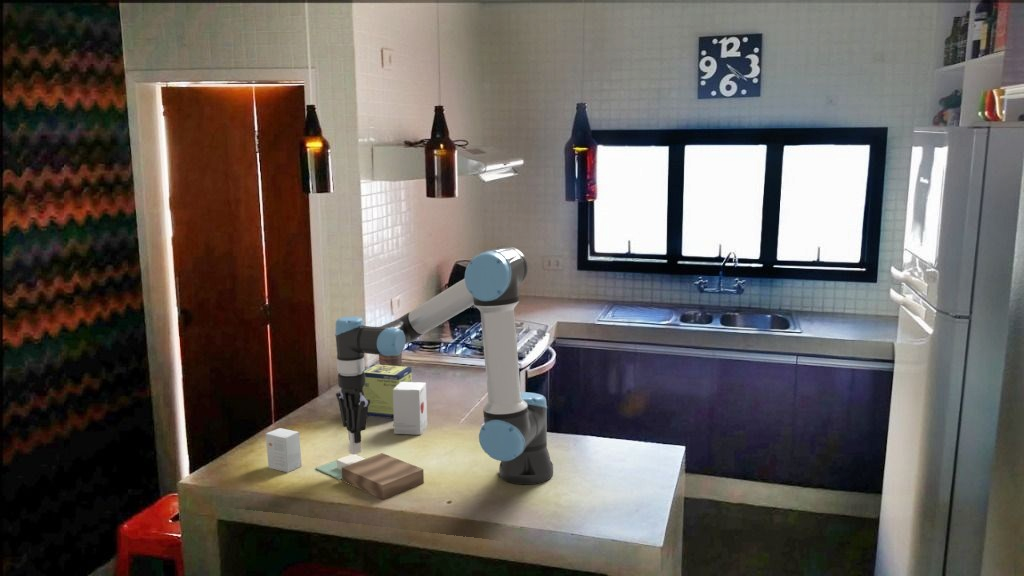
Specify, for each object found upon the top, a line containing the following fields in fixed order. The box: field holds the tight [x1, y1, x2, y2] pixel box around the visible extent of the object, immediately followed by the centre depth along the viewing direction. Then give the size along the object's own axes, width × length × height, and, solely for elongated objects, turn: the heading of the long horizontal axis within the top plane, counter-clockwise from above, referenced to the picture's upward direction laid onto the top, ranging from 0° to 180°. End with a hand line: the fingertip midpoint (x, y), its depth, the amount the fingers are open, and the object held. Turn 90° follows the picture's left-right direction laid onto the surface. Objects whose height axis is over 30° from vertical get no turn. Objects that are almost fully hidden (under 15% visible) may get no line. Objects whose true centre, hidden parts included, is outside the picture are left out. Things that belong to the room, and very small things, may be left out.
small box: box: [265, 427, 302, 473], centre depth 236 cm, size 8×6×10 cm
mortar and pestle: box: [378, 352, 403, 366], centre depth 315 cm, size 12×9×20 cm
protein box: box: [363, 363, 413, 419], centre depth 282 cm, size 10×16×16 cm
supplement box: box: [393, 381, 428, 436], centre depth 265 cm, size 9×9×15 cm
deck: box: [341, 452, 425, 500], centre depth 225 cm, size 18×14×4 cm
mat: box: [315, 453, 368, 481], centre depth 236 cm, size 12×14×1 cm
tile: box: [336, 454, 366, 470], centre depth 234 cm, size 8×6×2 cm
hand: (355, 452), depth 233 cm, fingers closed
